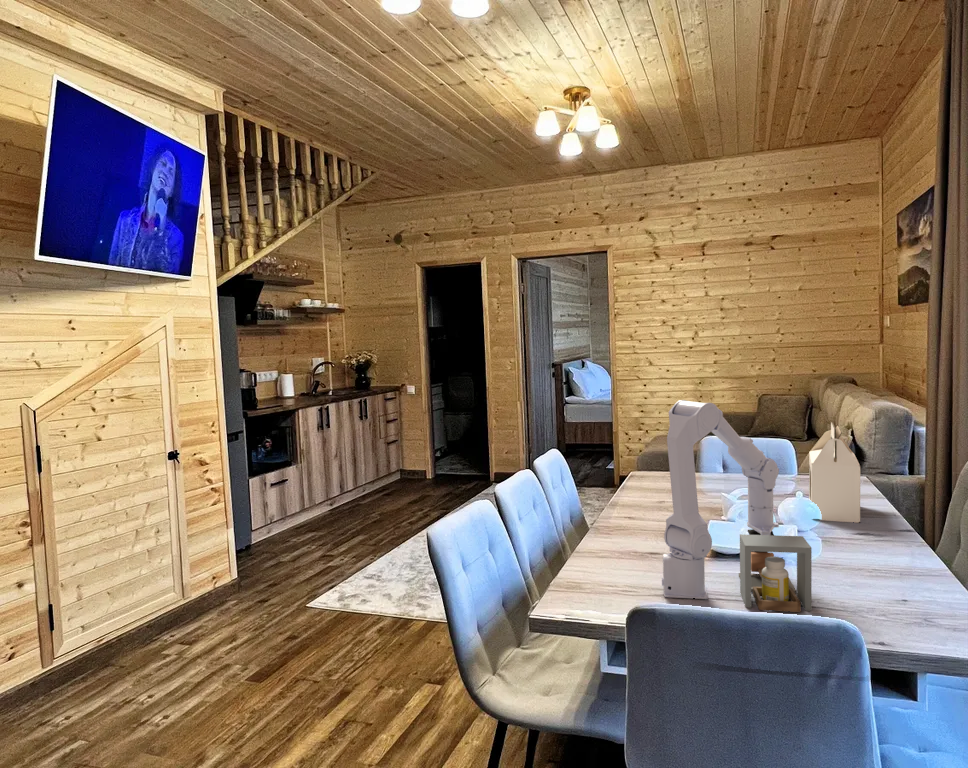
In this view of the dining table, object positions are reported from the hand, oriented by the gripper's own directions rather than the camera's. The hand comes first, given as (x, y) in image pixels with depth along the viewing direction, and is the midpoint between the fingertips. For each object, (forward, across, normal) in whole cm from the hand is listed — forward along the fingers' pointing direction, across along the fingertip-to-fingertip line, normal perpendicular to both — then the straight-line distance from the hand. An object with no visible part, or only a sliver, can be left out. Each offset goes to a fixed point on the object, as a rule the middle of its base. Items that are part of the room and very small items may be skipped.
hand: (760, 560), depth 167 cm
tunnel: (+3, -18, 0) cm, 18 cm away
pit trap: (+3, -8, 0) cm, 8 cm away
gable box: (+4, +59, -31) cm, 67 cm away
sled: (+3, -12, 0) cm, 13 cm away
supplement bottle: (+4, -18, 0) cm, 19 cm away
